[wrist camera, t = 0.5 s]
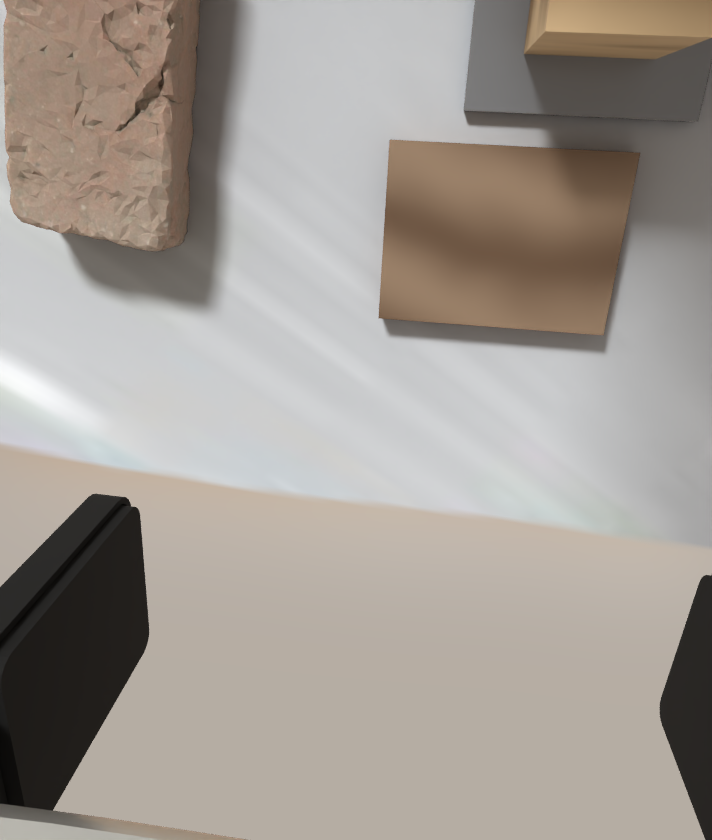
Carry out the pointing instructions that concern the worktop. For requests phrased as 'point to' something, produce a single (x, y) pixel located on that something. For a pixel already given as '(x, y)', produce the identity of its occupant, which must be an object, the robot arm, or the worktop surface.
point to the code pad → (576, 75)
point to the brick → (101, 116)
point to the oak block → (616, 27)
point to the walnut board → (503, 235)
